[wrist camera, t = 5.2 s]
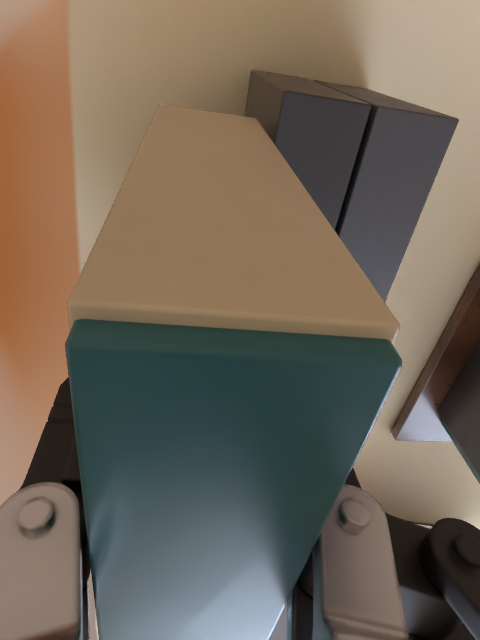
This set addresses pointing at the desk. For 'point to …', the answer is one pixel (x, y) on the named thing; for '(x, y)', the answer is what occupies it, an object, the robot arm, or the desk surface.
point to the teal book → (216, 382)
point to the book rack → (450, 386)
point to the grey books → (356, 160)
